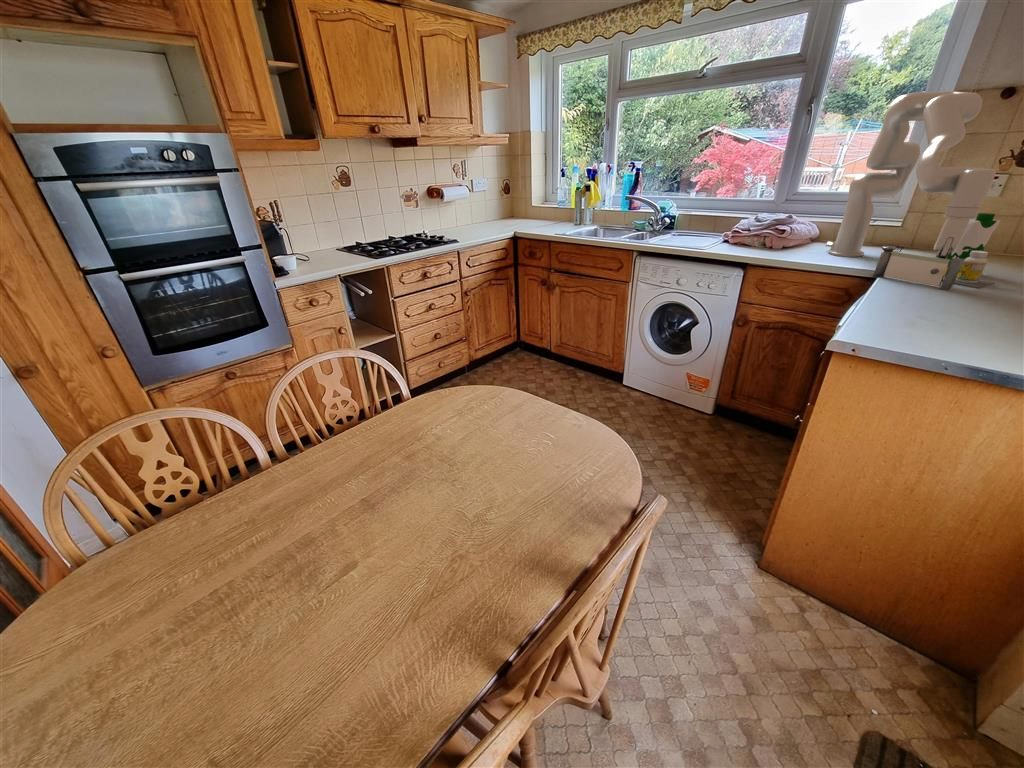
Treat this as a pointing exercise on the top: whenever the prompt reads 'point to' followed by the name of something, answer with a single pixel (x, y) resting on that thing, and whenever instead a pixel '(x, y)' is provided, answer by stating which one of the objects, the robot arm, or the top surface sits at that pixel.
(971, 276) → the supplement bottle
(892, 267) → the gate
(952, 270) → the post
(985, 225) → the milk carton
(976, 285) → the mat
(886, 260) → the hinge post
